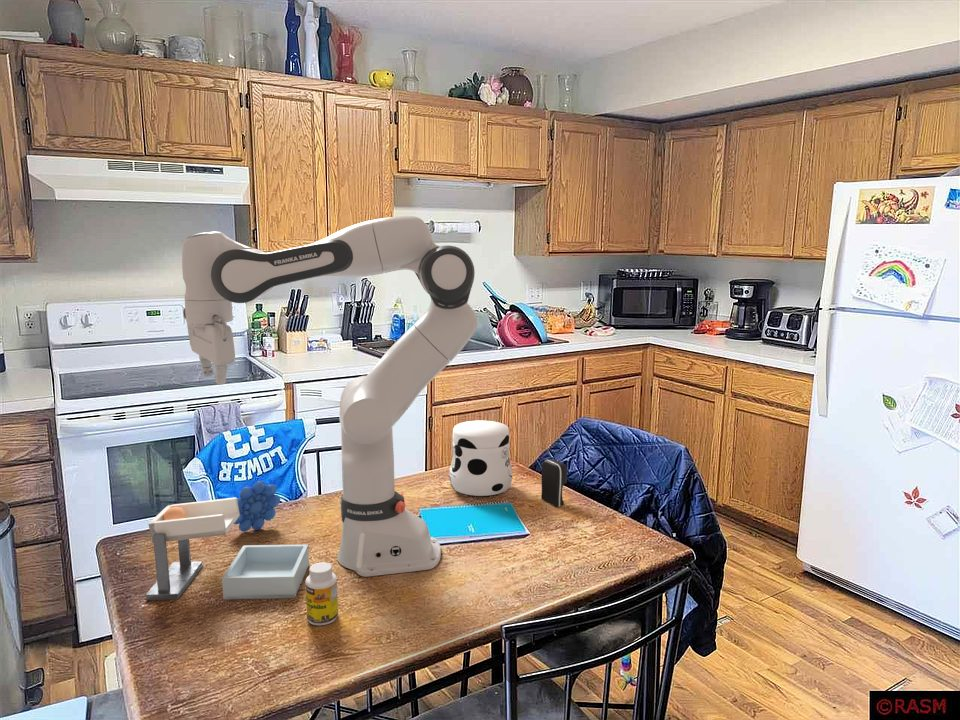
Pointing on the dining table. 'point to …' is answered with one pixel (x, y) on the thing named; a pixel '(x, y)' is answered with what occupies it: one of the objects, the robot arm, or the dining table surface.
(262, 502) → the grapes
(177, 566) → the trough stand
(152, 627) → the dining table surface
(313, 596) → the supplement bottle
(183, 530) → the tipping trough
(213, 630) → the dining table surface
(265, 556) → the pale blue tray
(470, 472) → the spotted cookie jar
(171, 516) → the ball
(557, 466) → the battery charger
